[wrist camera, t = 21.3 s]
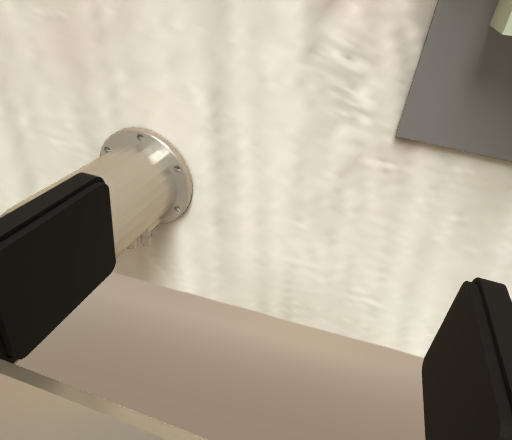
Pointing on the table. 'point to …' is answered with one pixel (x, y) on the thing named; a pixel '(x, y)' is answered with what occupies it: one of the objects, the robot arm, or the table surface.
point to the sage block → (503, 17)
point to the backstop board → (462, 83)
